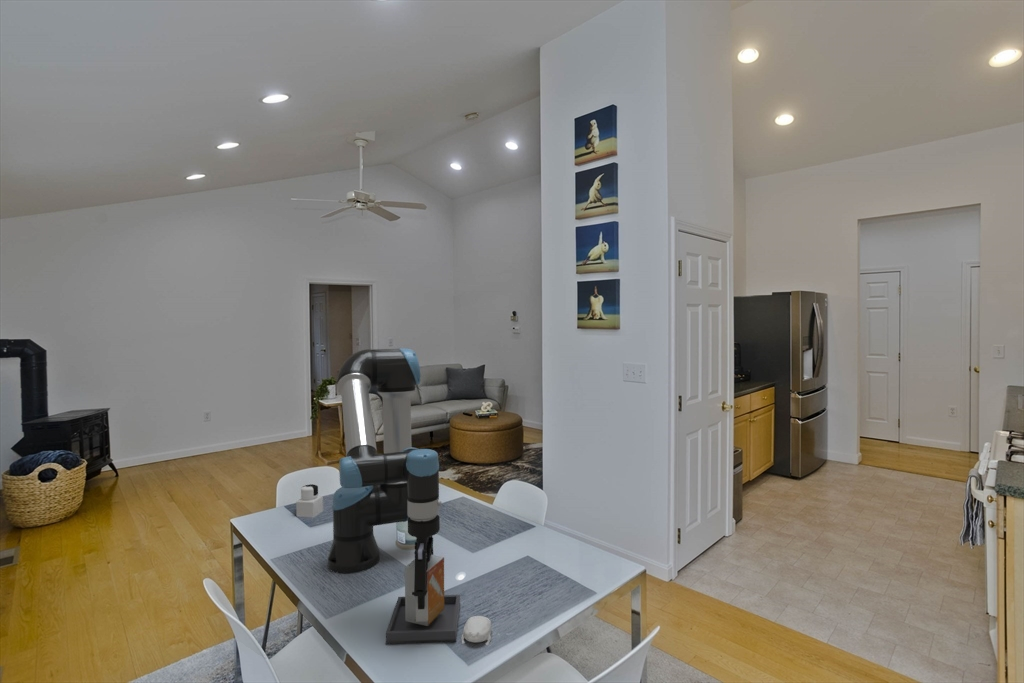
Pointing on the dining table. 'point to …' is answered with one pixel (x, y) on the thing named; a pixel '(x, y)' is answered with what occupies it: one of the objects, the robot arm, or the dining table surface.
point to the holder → (436, 632)
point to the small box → (433, 588)
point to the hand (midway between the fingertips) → (425, 608)
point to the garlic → (477, 630)
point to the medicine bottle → (309, 502)
